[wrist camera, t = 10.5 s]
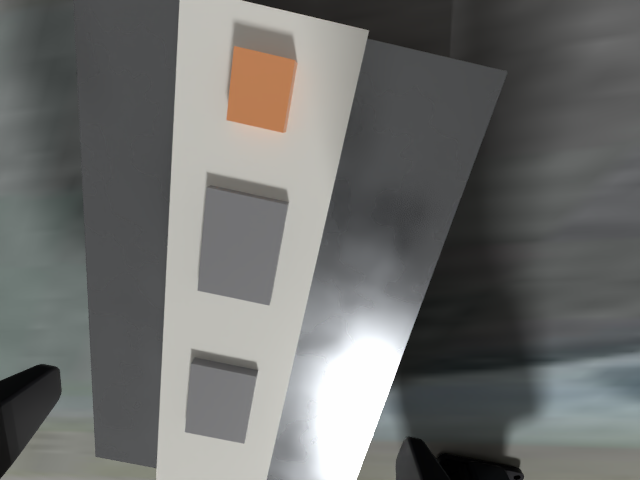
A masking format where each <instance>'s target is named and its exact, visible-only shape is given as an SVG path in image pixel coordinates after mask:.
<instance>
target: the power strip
mask: <svg viewBox="0 0 640 480" xmlns="http://www.w3.org/2000/svg"><path fill="white" fill-rule="evenodd" d="M368 33H369V30H365V29H361V28H357V27H353V26H348V25H344V24H340V23H336V22H331V21H327V20H323V19H319V18H314V17H310V16H306V15H302V14H297V13H293V12H289V11H285V10H280V9H276V8H272V7H268V6H264V5H259V4H255V3H251V2H247V1H242V0H180V2H179V22H178V42H177V63H176V83H175V104H174V124H173V144H172V165H171V185H170V206H169V226H168V246H167V267H166V287H165V308H164V328H163V349H162V369H161V389H160V410H159V430H158V451H157V471H156V480H267V476H268V471H269V467H270V462H271V458H272V454H273V449H274V445H275V441H276V436H277V432H278V427H279V423H280V419H281V414H282V410H283V406H284V401H285V397H286V392H287V388H288V384H289V379H290V375H291V371H292V366H293V362H294V357H295V353H296V349H297V344H298V340H299V335H300V331H301V327H302V322H303V318H304V314H305V309H306V305H307V300H308V296H309V292H310V287H311V283H312V279H313V274H314V270H315V265H316V261H317V257H318V252H319V248H320V243H321V239H322V235H323V230H324V226H325V222H326V217H327V213H328V208H329V204H330V200H331V195H332V191H333V187H334V182H335V178H336V173H337V169H338V165H339V160H340V156H341V151H342V147H343V143H344V138H345V134H346V130H347V125H348V121H349V116H350V112H351V108H352V103H353V99H354V95H355V90H356V86H357V81H358V77H359V73H360V68H361V64H362V60H363V55H364V51H365V46H366V42H367V38H368Z"/></svg>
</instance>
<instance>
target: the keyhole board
mask: <svg viewBox="0 0 640 480" xmlns="http://www.w3.org/2000/svg"><path fill="white" fill-rule="evenodd" d="M73 1H74V21H75V42H76V63H77V83H78V104H79V124H80V145H81V165H82V186H83V206H84V227H85V248H86V268H87V289H88V309H89V330H90V350H91V371H92V392H93V412H94V433H95V453H96V457H100V458H106V459H111V460H116V461H121V462H127V463H132V464H137V465H143V466H148V467H153V468H157V451H158V430H159V410H160V389H161V369H162V349H163V328H164V308H165V287H166V267H167V246H168V226H169V206H170V185H171V165H172V144H173V124H174V104H175V83H176V63H177V42H178V22H179V2H180V0H73ZM507 73H508V71H504V70H500V69H496V68H491V67H487V66H483V65H478V64H474V63H470V62H466V61H461V60H457V59H453V58H448V57H444V56H440V55H436V54H431V53H427V52H423V51H419V50H414V49H410V48H406V47H401V46H397V45H393V44H389V43H384V42H380V41H376V40H372V39H367V42H366V46H365V51H364V55H363V60H362V64H361V68H360V73H359V77H358V81H357V86H356V90H355V95H354V99H353V103H352V108H351V112H350V116H349V121H348V125H347V130H346V134H345V138H344V143H343V147H342V151H341V156H340V160H339V165H338V169H337V173H336V178H335V182H334V187H333V191H332V195H331V200H330V204H329V208H328V213H327V217H326V222H325V226H324V230H323V235H322V239H321V243H320V248H319V252H318V257H317V261H316V265H315V270H314V274H313V279H312V283H311V287H310V292H309V296H308V300H307V305H306V309H305V314H304V318H303V322H302V327H301V331H300V335H299V340H298V344H297V349H296V353H295V357H294V362H293V366H292V371H291V375H290V379H289V384H288V388H287V392H286V397H285V401H284V406H283V410H282V414H281V419H280V423H279V427H278V432H277V436H276V441H275V445H274V449H273V454H272V458H271V462H270V467H269V471H268V476H267V480H356V479H357V476H358V473H359V471H360V468H361V465H362V463H363V460H364V457H365V454H366V452H367V449H368V446H369V444H370V441H371V438H372V436H373V433H374V430H375V428H376V425H377V422H378V420H379V417H380V414H381V411H382V409H383V406H384V403H385V401H386V398H387V395H388V393H389V390H390V387H391V385H392V382H393V379H394V377H395V374H396V371H397V369H398V366H399V363H400V360H401V358H402V355H403V352H404V350H405V347H406V344H407V342H408V339H409V336H410V334H411V331H412V328H413V326H414V323H415V320H416V317H417V315H418V312H419V309H420V307H421V304H422V301H423V299H424V296H425V293H426V291H427V288H428V285H429V283H430V280H431V277H432V274H433V272H434V269H435V266H436V264H437V261H438V258H439V256H440V253H441V250H442V248H443V245H444V242H445V240H446V237H447V234H448V231H449V229H450V226H451V223H452V221H453V218H454V215H455V213H456V210H457V207H458V205H459V202H460V199H461V197H462V194H463V191H464V188H465V186H466V183H467V180H468V178H469V175H470V172H471V170H472V167H473V164H474V162H475V159H476V156H477V154H478V151H479V148H480V145H481V143H482V140H483V137H484V135H485V132H486V129H487V127H488V124H489V121H490V119H491V116H492V113H493V111H494V108H495V105H496V102H497V100H498V97H499V94H500V92H501V89H502V86H503V84H504V81H505V78H506V76H507Z"/></svg>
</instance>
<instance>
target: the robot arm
mask: <svg viewBox="0 0 640 480" xmlns="http://www.w3.org/2000/svg"><path fill="white" fill-rule="evenodd" d="M60 395H61V379H60V370H59V369H58V367H56V366H51V365H46V364H40V365H36V366H34V367H32V368H29V369H27V370H24V371H22V372H20V373H17V374H15V375H13V376H10V377H8V378H6V379H3V380H1V381H0V478H1V477H2V476H3V475H4V474H5V472H6V471H7V470H8V469H9V468H10V466H11V465H12V464H13V462H14V461H15V460H16V459H17V457H18V456H19V455H20V453H21V452H22V450H23V449H24V448H25V446H26V445H27V443H28V442H29V441H30V439H31V438H32V436H33V435H34V434H35V432H36V431H37V430H38V428H39V427H40V425H41V424H42V423H43V421H44V420H45V418H46V417H47V416H48V414H49V413H50V411H51V410H52V409H53V407H54V406H55V404H56V403H57V402H58V400H59V398H60ZM523 479H524V475H523V473H522V471H521V470H520V469H519V468H516V467H511V466H506V465H501V464H496V463H491V462H486V461H480V460H475V459H470V458H465V457H460V456H455V455H450V454H441V455H439V456H438V458H437V460H436V458H435V457H434V455H433V454H432V453H431V451H430V450H429V448H428V447H427V445H426V444H425V443H424V442H423V441H422V440H421V439H418V438H413V437H406V438H405V439H404V441H403V444H402V446H401V449H400V451H399V453H398V456H397V459H396V480H523Z"/></svg>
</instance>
